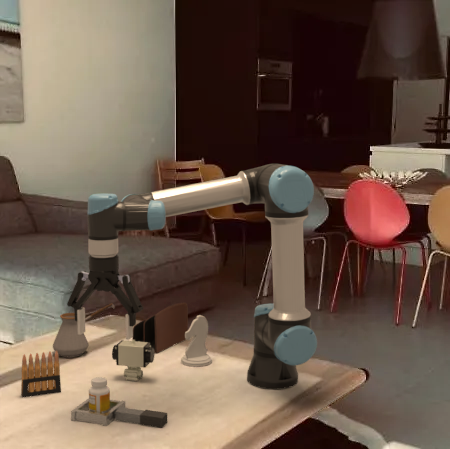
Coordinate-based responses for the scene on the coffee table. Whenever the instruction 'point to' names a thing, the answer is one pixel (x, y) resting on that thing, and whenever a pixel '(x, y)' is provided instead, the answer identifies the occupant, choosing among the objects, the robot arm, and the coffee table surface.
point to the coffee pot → (72, 335)
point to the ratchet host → (119, 415)
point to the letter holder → (163, 327)
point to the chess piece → (197, 344)
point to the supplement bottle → (99, 396)
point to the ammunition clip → (40, 376)
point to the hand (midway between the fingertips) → (105, 335)
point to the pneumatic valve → (133, 357)
